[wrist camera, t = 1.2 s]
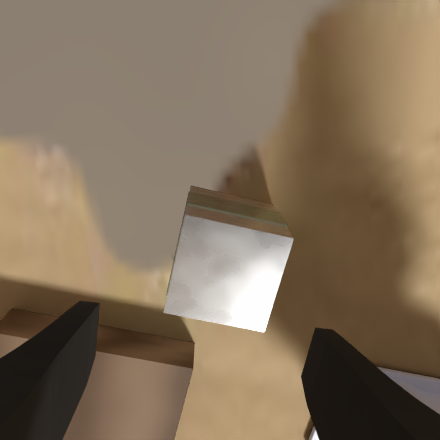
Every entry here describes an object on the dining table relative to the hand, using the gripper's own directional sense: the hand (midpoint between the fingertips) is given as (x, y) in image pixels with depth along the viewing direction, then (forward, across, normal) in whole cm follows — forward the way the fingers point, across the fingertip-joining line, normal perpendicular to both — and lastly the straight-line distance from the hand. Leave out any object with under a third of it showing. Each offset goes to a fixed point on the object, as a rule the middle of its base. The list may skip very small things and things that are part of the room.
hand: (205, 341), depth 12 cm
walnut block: (+11, +6, +13) cm, 18 cm away
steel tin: (+11, -1, 0) cm, 11 cm away
